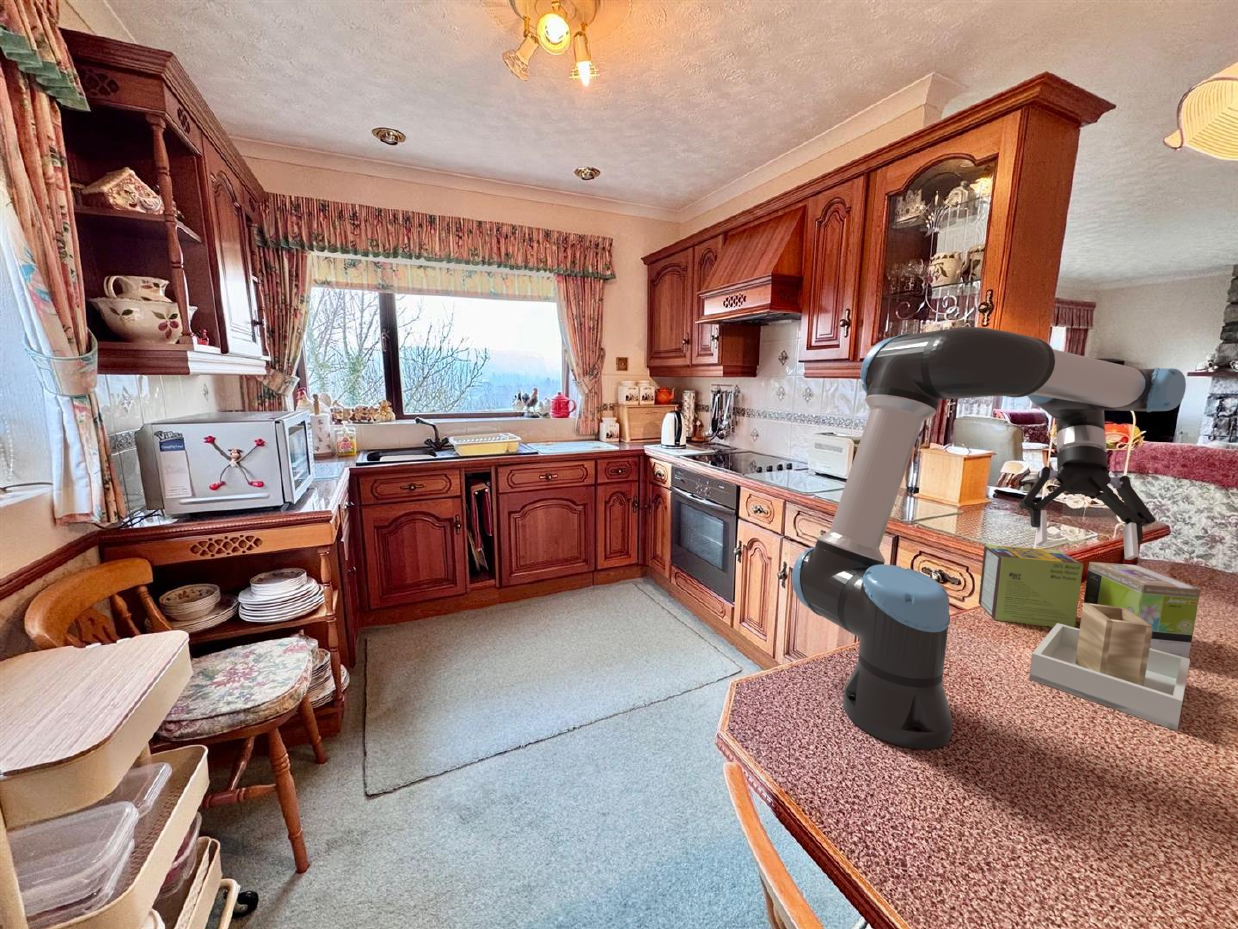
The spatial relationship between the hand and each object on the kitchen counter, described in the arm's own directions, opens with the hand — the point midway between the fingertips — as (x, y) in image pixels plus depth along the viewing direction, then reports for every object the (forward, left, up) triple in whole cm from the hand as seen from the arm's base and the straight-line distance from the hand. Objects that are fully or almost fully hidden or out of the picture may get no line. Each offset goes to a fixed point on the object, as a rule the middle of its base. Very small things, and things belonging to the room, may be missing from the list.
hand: (1085, 550), depth 94 cm
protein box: (-11, +17, -22) cm, 30 cm away
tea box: (+6, +21, -22) cm, 31 cm away
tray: (+6, -6, -22) cm, 24 cm away
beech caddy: (+6, -6, -21) cm, 23 cm away
